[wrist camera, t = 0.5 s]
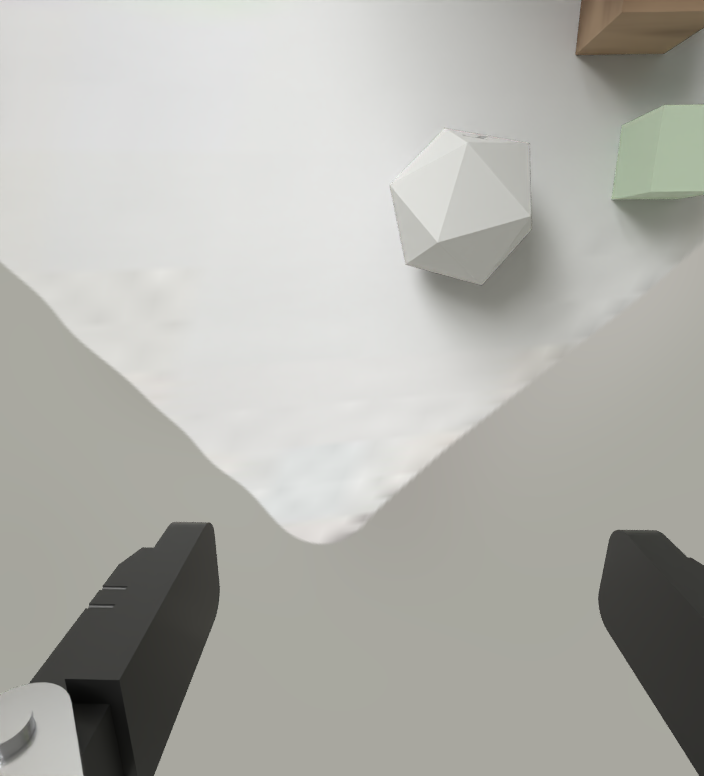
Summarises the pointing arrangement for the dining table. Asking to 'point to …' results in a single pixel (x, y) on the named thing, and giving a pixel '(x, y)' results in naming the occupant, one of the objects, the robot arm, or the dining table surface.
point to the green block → (661, 155)
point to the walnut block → (636, 25)
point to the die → (464, 204)
